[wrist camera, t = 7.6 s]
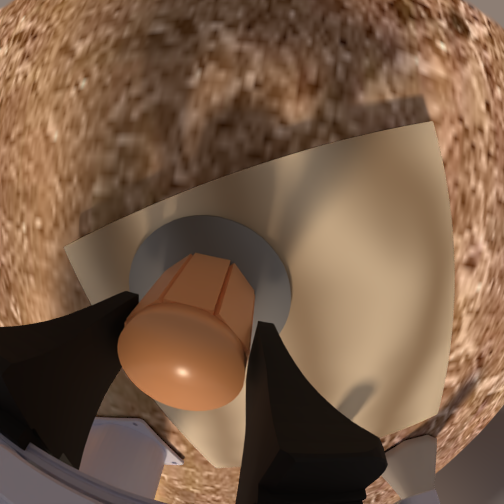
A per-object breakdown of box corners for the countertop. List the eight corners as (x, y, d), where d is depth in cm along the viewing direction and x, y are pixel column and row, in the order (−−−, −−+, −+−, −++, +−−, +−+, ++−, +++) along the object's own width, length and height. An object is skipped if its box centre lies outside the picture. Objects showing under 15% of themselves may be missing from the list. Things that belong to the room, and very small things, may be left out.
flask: (403, 433, 19) (430, 514, 10) (445, 431, 20) (473, 496, 10) (362, 468, 22) (375, 539, 12) (406, 465, 22) (423, 526, 13)
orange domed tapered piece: (160, 324, 14) (122, 391, 9) (166, 246, 12) (113, 297, 8) (242, 344, 14) (232, 420, 9) (261, 266, 12) (258, 333, 8)
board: (217, 455, 21) (210, 503, 16) (78, 239, 14) (16, 275, 9) (431, 402, 18) (453, 447, 13) (418, 123, 11) (486, 115, 6)
